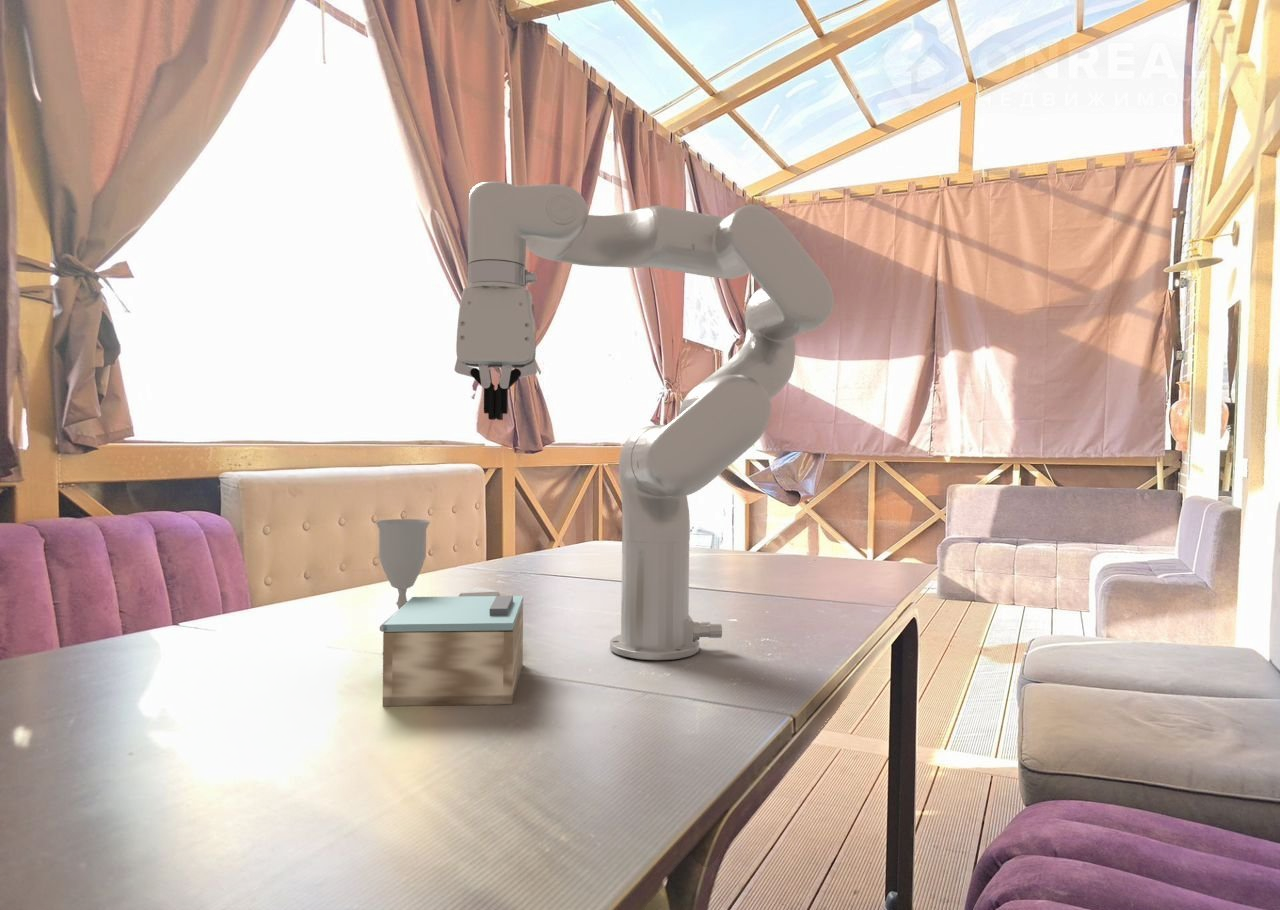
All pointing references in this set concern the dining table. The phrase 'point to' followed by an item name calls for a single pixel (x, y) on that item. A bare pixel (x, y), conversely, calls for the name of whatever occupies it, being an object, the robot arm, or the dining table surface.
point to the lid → (455, 614)
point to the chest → (452, 666)
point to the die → (479, 592)
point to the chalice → (402, 552)
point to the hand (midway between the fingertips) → (495, 419)
